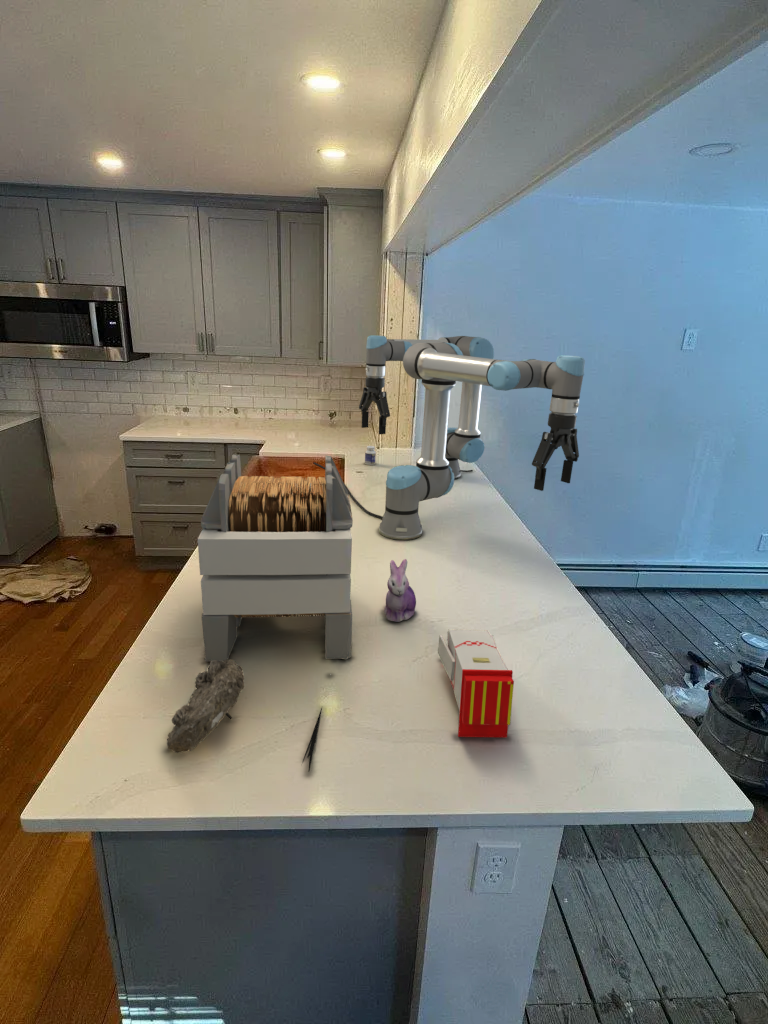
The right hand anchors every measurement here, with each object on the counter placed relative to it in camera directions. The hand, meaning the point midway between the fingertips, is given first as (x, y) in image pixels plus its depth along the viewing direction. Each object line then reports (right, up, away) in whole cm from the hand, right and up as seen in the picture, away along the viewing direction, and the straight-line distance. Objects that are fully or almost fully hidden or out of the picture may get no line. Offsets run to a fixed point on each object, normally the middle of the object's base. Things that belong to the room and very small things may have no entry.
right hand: (373, 430), depth 228 cm
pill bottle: (-3, -8, +59) cm, 60 cm away
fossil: (-28, -72, -120) cm, 143 cm away
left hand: (+54, -25, -63) cm, 86 cm away
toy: (+22, -70, -110) cm, 132 cm away
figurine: (+8, -59, -81) cm, 101 cm away
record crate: (-21, -60, -87) cm, 108 cm away
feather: (-8, -73, -120) cm, 140 cm away
